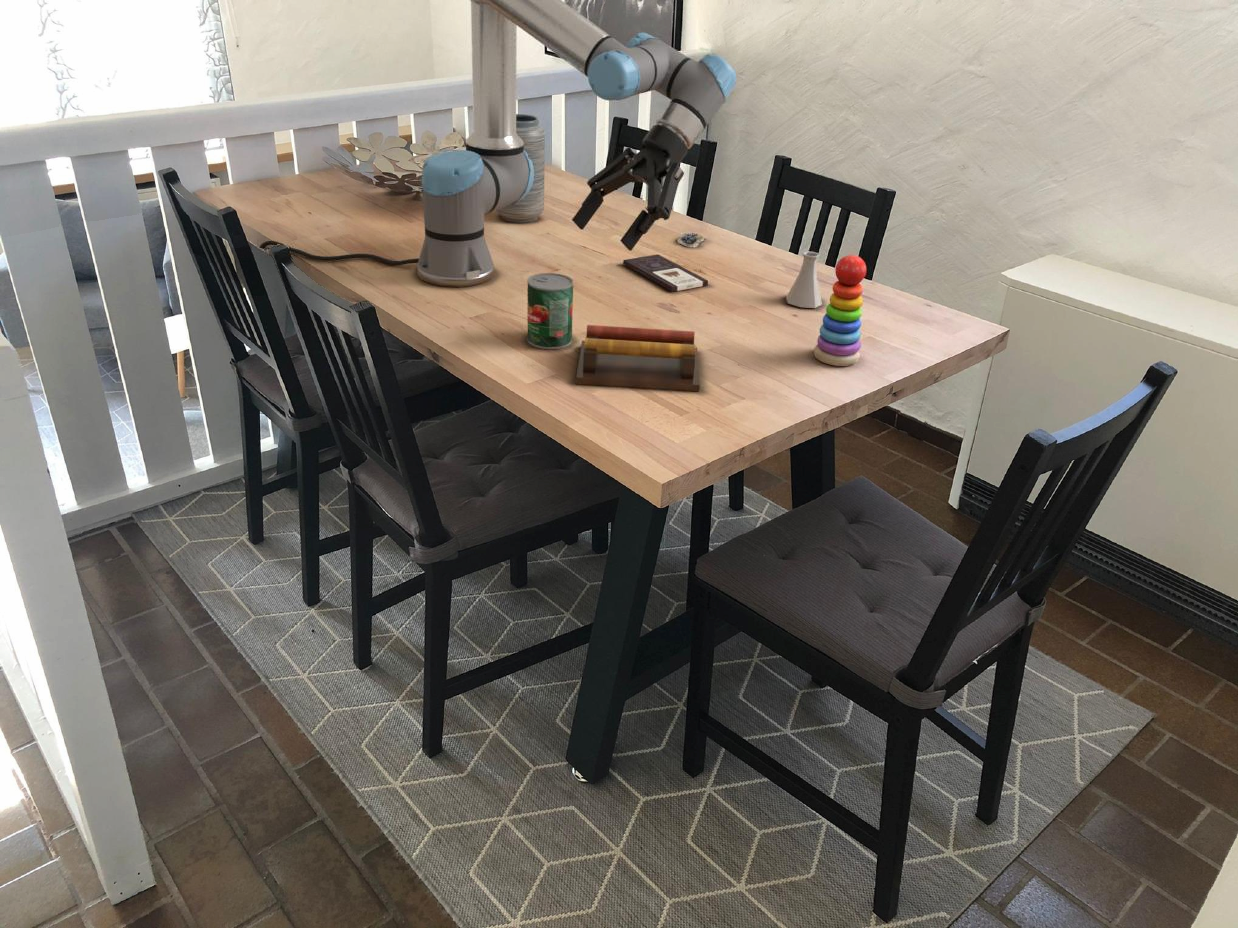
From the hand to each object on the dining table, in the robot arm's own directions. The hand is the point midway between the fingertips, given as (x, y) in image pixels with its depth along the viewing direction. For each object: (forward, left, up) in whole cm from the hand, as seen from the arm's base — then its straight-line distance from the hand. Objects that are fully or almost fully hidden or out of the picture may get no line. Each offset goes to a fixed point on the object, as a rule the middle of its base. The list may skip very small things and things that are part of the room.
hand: (600, 235), depth 170 cm
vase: (-31, +61, -17) cm, 71 cm away
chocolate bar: (+8, +32, -17) cm, 37 cm away
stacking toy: (+43, -1, -17) cm, 46 cm away
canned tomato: (-7, -8, -18) cm, 20 cm away
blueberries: (+11, +56, -18) cm, 60 cm away
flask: (+37, +25, -18) cm, 48 cm away
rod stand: (+10, -15, -17) cm, 25 cm away
